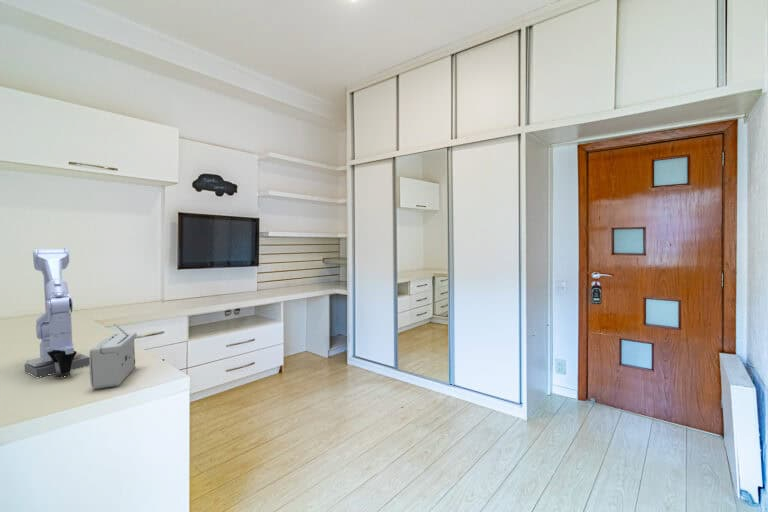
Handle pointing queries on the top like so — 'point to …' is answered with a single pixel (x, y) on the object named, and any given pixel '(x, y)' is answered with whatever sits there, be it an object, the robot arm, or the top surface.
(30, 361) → the pan
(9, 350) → the top surface
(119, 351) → the stereo radio cassette player
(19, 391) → the top surface
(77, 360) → the base
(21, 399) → the top surface
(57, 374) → the cylinder
